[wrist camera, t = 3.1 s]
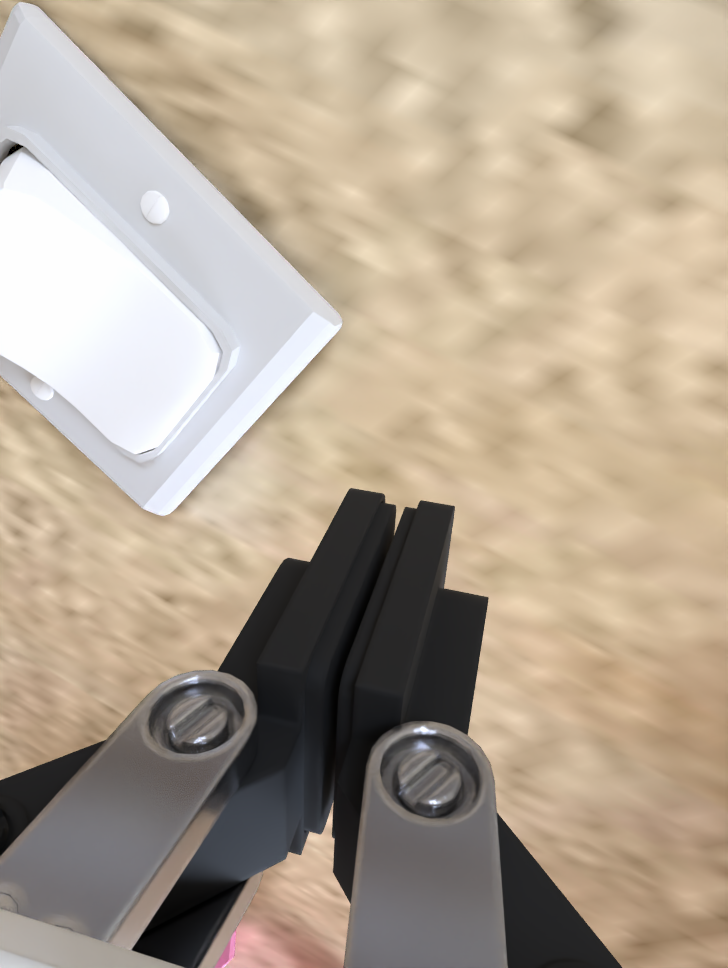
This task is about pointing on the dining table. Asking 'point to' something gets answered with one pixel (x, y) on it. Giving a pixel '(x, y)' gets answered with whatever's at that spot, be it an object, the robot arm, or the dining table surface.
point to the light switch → (132, 279)
